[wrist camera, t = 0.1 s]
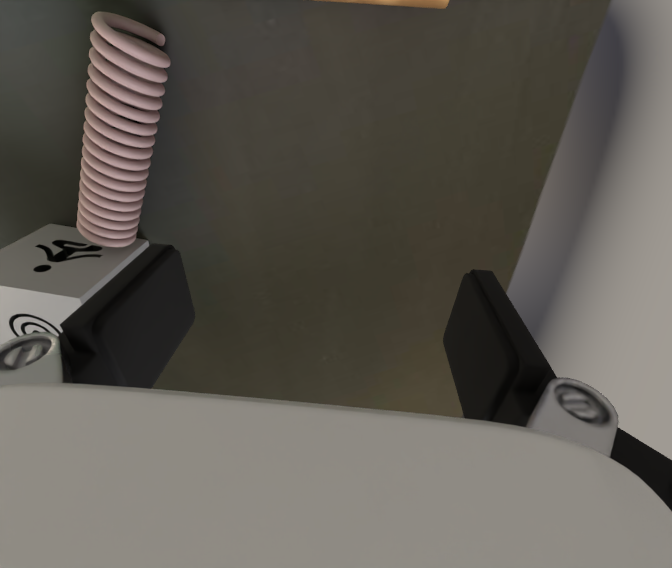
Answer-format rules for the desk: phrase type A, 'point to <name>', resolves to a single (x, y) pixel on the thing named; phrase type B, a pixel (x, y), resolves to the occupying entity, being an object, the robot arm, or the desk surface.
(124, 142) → the coil
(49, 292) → the icon cube
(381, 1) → the wooden cylinder
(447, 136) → the desk surface
